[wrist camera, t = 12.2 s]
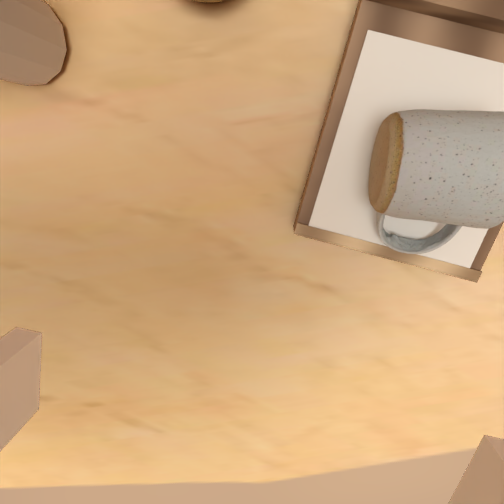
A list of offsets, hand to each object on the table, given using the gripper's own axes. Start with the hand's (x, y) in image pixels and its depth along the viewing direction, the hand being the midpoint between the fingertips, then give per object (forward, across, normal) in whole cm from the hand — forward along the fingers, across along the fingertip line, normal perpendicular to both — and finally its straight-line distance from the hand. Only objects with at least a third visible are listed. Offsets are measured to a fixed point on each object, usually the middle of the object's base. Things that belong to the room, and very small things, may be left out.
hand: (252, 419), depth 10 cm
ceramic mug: (+21, +11, +7) cm, 25 cm away
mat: (+21, +10, +9) cm, 25 cm away
